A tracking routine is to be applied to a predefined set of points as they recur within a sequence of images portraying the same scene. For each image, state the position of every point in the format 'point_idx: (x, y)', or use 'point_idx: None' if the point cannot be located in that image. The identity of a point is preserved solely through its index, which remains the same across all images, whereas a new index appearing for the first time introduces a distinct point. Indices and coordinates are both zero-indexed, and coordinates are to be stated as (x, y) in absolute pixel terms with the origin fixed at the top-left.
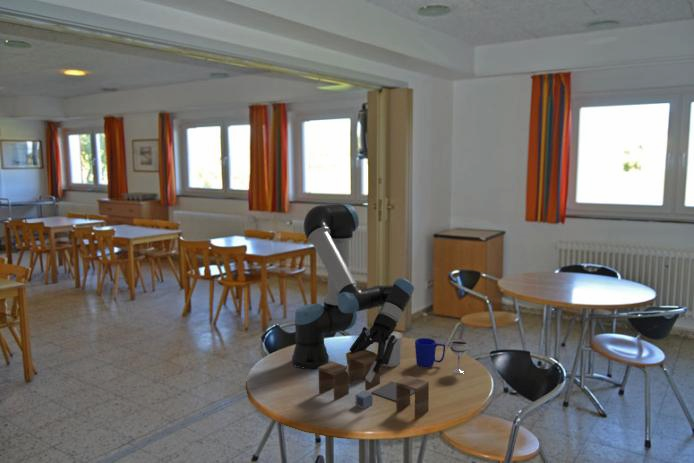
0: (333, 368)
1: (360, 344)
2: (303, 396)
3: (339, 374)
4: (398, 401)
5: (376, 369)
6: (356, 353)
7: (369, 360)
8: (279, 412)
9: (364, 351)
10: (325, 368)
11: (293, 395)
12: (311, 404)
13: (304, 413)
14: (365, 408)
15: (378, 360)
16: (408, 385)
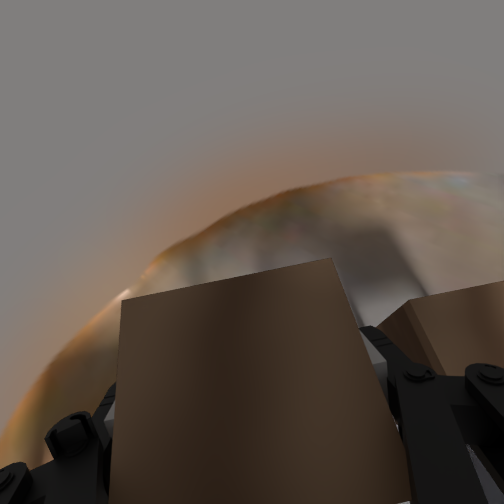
0: (477, 329)
1: (479, 498)
2: (444, 269)
3: (416, 341)
4: None
5: (106, 393)
6: (342, 349)
7: (122, 338)
8: (368, 181)
9: (352, 482)
10: (493, 293)
11: (465, 250)
12: (372, 260)
13: (328, 220)
14: None
15: (59, 428)
16: None
